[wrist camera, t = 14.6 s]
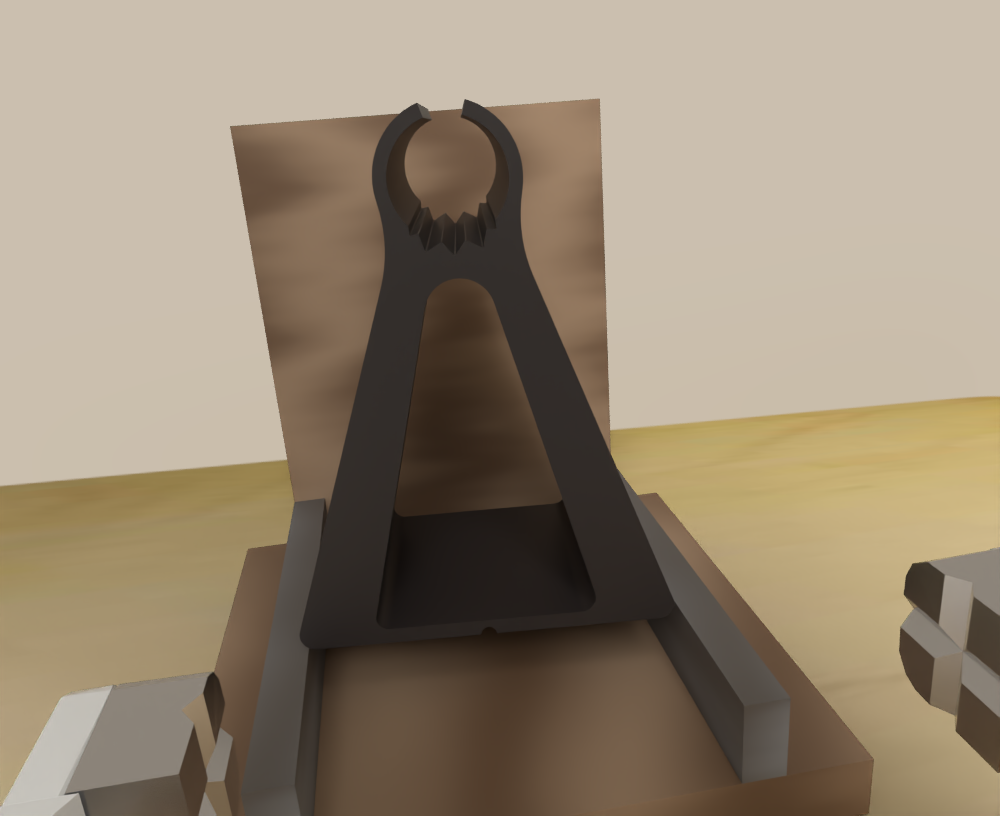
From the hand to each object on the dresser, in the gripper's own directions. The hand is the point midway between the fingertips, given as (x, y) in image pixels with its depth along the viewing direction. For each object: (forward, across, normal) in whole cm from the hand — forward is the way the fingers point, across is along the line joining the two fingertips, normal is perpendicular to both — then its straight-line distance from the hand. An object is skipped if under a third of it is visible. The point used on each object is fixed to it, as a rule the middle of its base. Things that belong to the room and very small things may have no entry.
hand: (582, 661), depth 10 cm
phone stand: (+12, 0, +6) cm, 13 cm away
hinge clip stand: (+12, 0, +9) cm, 15 cm away
